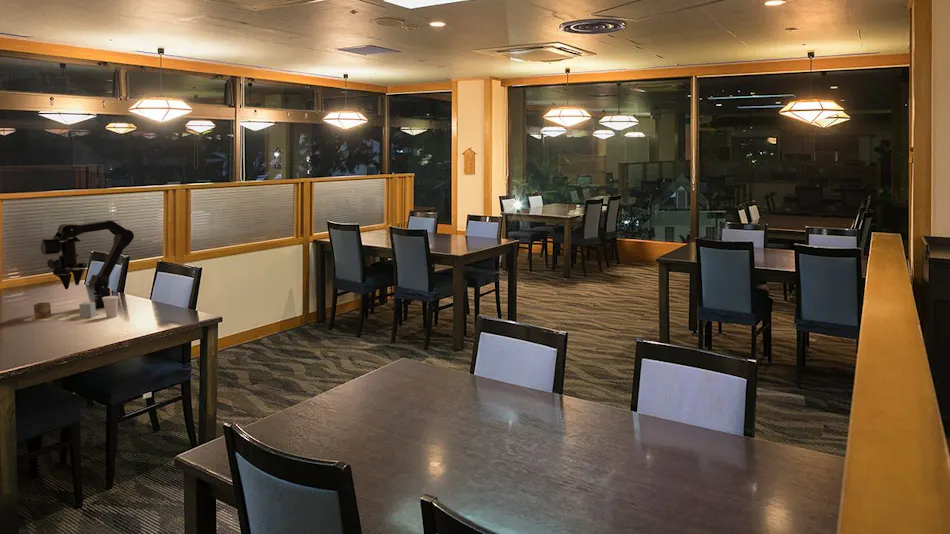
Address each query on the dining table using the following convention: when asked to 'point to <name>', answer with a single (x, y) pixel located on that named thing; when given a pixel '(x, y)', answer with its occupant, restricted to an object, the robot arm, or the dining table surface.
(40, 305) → the walnut block
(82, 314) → the slate block
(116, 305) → the smoothie
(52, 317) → the board
